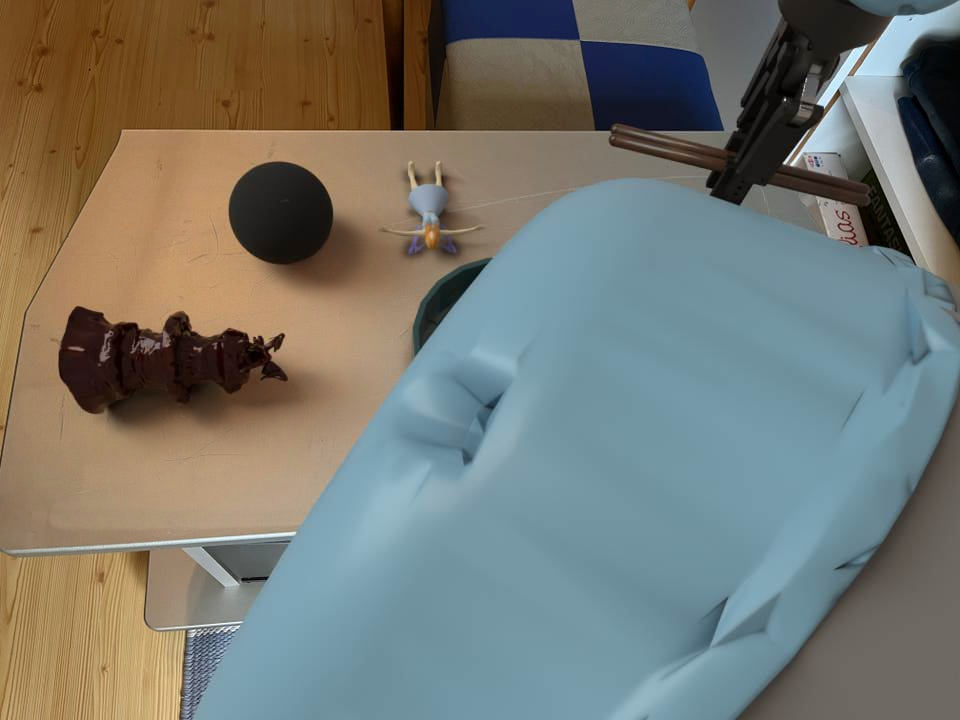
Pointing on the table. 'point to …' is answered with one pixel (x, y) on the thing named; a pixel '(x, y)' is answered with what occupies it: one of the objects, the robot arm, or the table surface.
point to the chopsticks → (716, 157)
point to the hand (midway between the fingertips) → (718, 199)
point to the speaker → (280, 213)
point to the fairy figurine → (429, 211)
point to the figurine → (155, 359)
